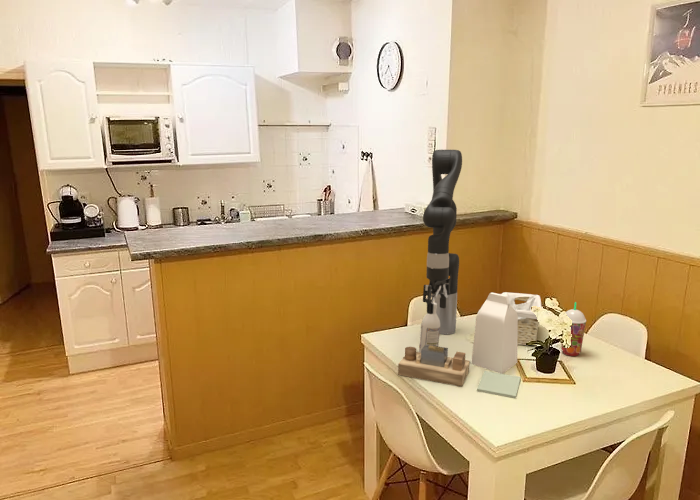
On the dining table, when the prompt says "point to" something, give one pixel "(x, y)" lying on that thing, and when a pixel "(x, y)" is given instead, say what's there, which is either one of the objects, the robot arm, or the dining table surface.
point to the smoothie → (575, 332)
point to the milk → (495, 335)
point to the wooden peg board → (434, 368)
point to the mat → (499, 384)
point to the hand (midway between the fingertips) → (436, 310)
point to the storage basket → (525, 316)
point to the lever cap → (434, 355)
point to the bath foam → (430, 329)
